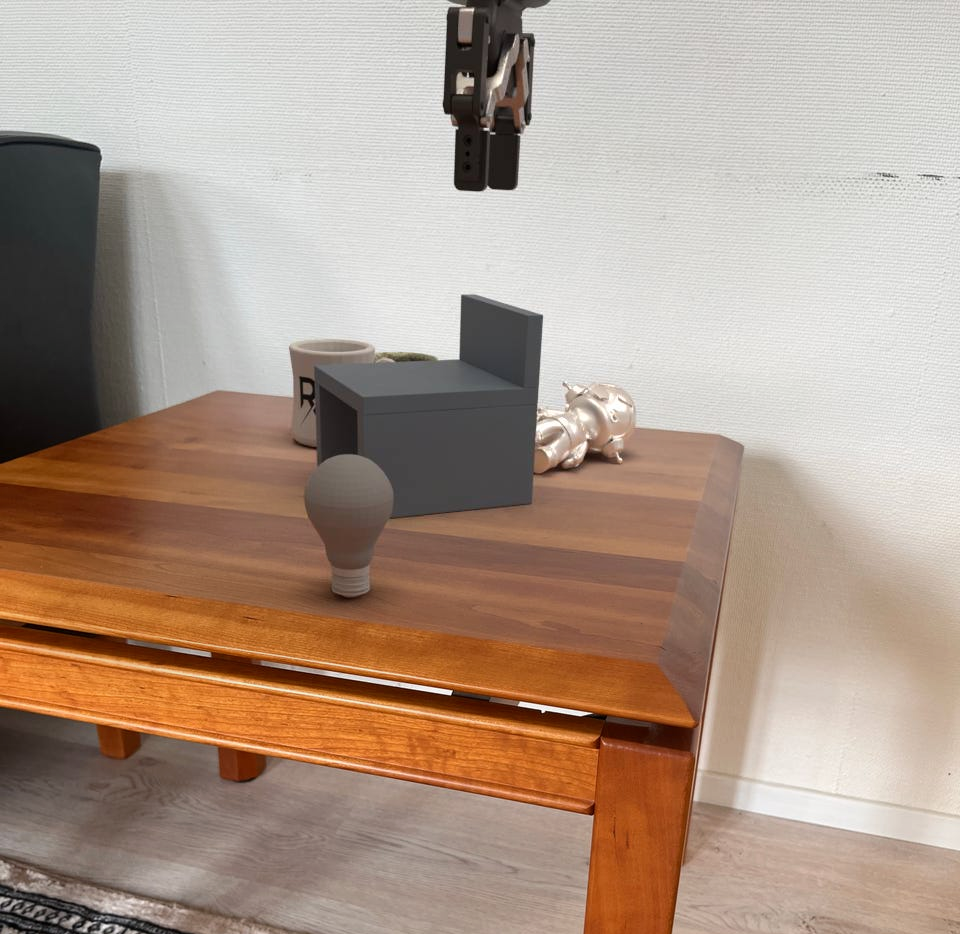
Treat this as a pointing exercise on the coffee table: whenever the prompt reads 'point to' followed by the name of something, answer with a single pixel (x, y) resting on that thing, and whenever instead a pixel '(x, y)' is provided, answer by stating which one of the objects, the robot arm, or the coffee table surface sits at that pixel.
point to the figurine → (584, 426)
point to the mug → (304, 380)
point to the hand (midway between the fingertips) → (487, 190)
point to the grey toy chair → (444, 415)
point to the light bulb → (349, 516)
